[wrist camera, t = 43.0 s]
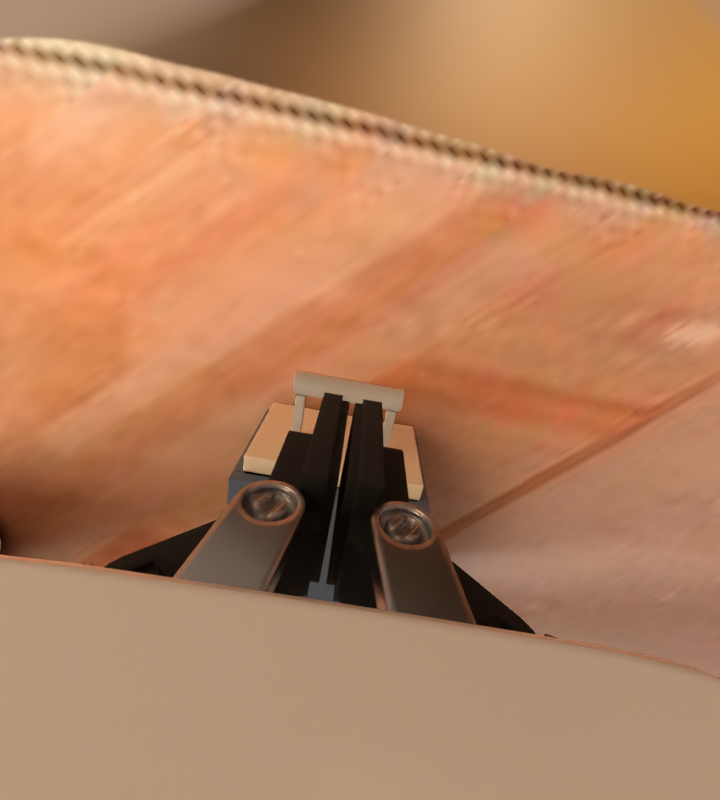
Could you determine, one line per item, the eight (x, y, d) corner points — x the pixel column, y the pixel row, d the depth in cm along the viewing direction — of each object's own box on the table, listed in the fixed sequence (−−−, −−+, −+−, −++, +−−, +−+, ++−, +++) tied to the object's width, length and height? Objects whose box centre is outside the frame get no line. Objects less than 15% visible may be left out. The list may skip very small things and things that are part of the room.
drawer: (278, 342, 29) (247, 382, 22) (428, 369, 30) (445, 417, 23) (261, 529, 37) (234, 602, 30) (380, 548, 37) (381, 625, 30)
